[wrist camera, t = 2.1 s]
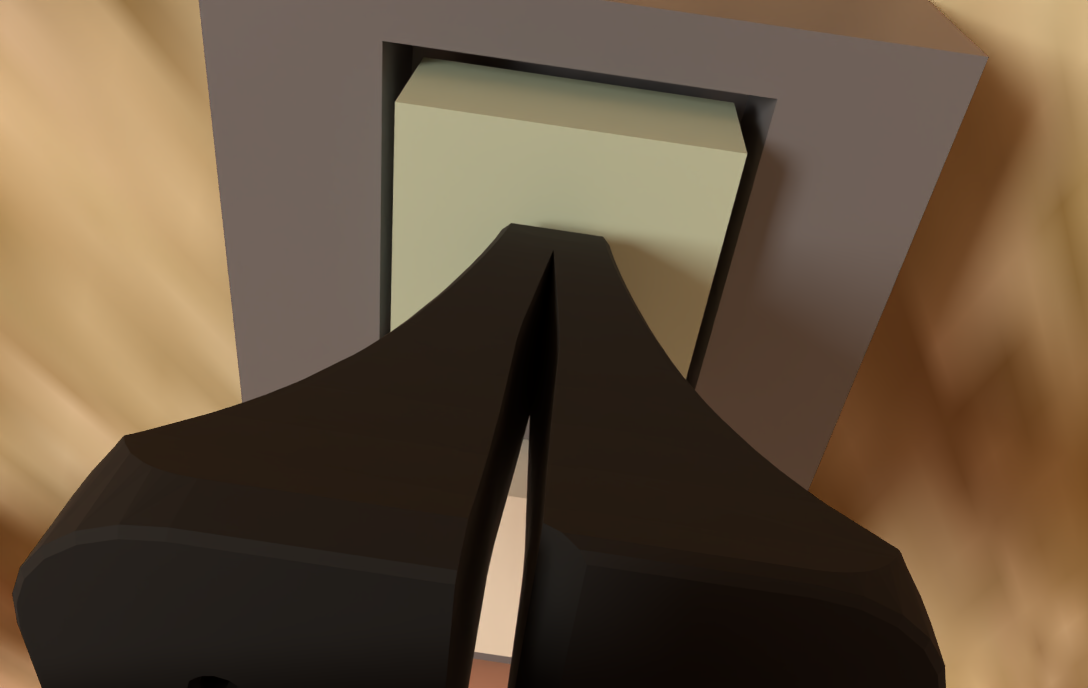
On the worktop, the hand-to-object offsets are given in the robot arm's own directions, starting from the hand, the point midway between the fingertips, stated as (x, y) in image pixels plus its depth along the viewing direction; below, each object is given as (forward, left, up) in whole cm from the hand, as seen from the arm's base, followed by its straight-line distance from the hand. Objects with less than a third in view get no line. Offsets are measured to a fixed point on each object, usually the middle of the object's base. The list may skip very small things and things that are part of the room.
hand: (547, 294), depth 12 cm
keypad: (0, -7, -4) cm, 8 cm away
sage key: (0, 0, -2) cm, 2 cm away
